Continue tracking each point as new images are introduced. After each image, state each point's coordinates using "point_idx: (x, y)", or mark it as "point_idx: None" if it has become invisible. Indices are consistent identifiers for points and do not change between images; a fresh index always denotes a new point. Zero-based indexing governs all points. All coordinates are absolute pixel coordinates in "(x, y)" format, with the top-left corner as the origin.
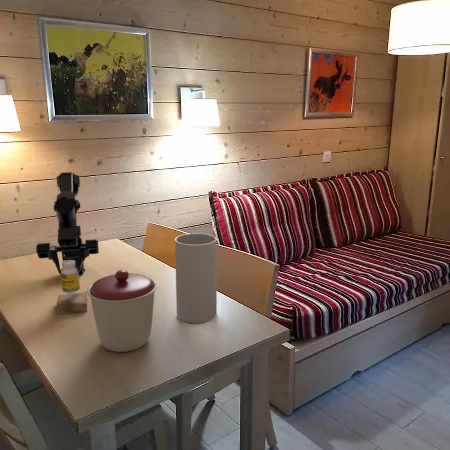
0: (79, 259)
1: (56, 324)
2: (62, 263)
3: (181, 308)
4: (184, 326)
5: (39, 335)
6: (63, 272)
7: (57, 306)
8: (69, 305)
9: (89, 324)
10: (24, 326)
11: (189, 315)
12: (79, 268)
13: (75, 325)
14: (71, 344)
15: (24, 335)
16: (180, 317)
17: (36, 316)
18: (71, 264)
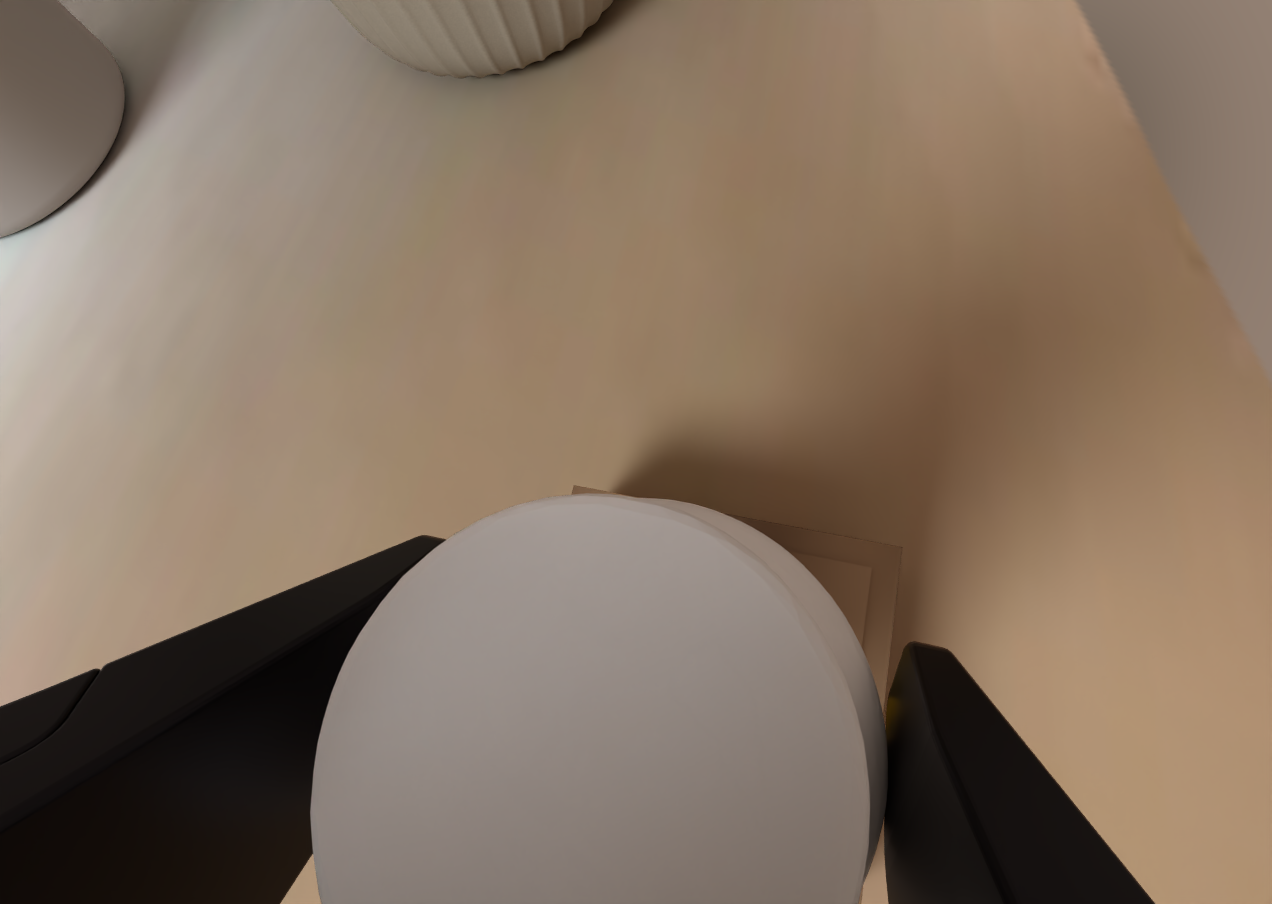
0: (116, 722)
1: (895, 375)
2: (852, 702)
3: (40, 12)
4: (157, 50)
5: (1043, 240)
6: (815, 582)
7: (886, 546)
8: (751, 519)
9: (637, 270)
10: (1210, 460)
11: (64, 8)
12: (385, 551)
13: (741, 295)
14: (810, 51)
15: (1181, 284)
16: (110, 83)
17: (1102, 648)
18: (531, 506)
